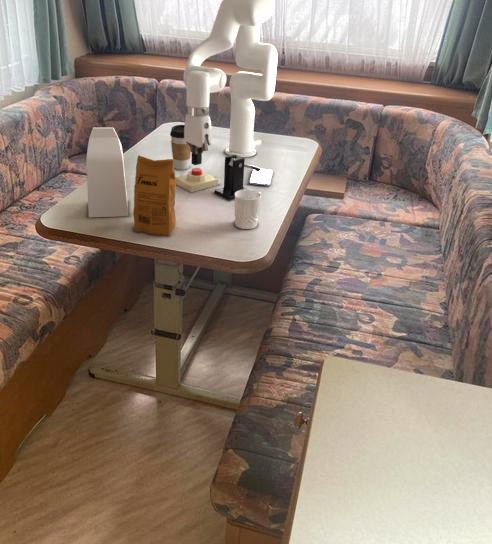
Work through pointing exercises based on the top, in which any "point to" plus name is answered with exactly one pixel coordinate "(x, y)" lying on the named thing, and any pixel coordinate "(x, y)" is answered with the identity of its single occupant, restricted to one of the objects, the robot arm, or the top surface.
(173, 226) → the coffee package
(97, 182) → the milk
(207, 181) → the control box
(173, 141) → the coffee cup
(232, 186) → the switch bracket
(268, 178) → the mobile phone
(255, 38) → the robot arm
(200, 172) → the button
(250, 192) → the white cup
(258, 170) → the switch lever
